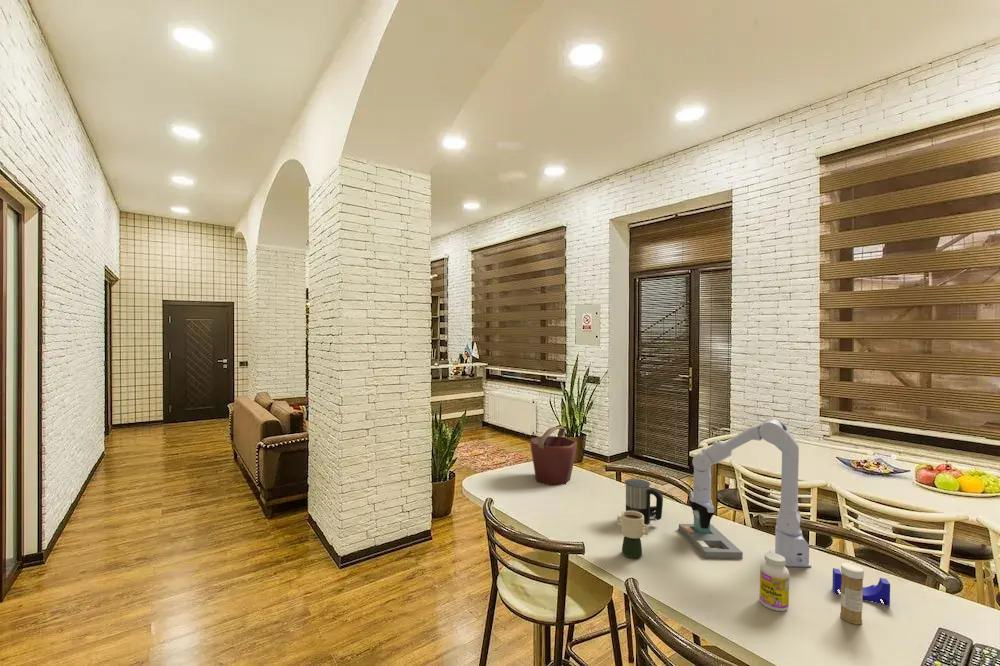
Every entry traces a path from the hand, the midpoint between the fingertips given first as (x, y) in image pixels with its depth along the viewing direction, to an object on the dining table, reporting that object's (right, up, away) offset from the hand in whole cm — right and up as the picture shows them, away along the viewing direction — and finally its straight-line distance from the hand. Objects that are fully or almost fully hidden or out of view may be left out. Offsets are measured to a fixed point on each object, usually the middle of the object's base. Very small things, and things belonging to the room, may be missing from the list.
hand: (701, 525), depth 161 cm
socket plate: (0, -4, -6) cm, 7 cm away
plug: (0, -3, 0) cm, 3 cm away
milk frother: (-16, -4, +14) cm, 22 cm away
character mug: (-29, -4, -15) cm, 33 cm away
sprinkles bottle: (+17, -5, -46) cm, 50 cm away
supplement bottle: (+1, -4, -41) cm, 41 cm away
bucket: (-46, -3, +58) cm, 74 cm away
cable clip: (+28, -5, -36) cm, 46 cm away
